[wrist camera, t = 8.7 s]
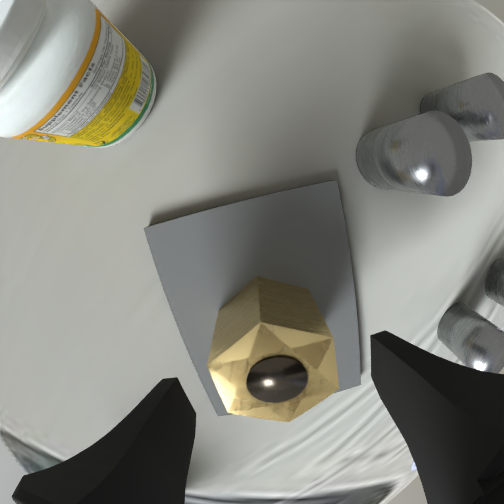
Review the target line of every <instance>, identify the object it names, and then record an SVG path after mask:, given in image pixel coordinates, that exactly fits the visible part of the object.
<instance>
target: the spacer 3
mask: <svg viewBox="0 0 504 504" xmlns="http://www.w3.org/2000/svg"><path fill="white" fill-rule="evenodd" d="M437 334H438V338H439V340H440V341H441V342H442V343H443V344H444V345H445V346H446V347H447V348H448V349H449V350H451V351H452V352H453V353H454V354H455V355H456V356H457V357H458V358H459V359H460V360H461V361H462V362H463V363H464V364H465V366H466V367H470V368H473V369H477V370H481V371H486V372H492V373H499V372H500V371H501V369H502V368H503V367H504V332H503V331H502V330H501V329H499V328H498V327H497V326H495V325H494V324H492V323H491V322H490V321H488V320H487V319H486V318H484V317H483V316H481V315H480V314H479V313H477V312H476V311H474V310H473V309H471V308H470V307H469V306H467V305H466V304H464V303H457V304H455V305H453V306H451V307H450V308H449V309H448V310H447V311H446V312H445V314H444V315H443V317H442V319H441V320H440V323H439V326H438V331H437Z"/></svg>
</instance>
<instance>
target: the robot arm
mask: <svg viewBox="0 0 504 504" xmlns="http://www.w3.org/2000/svg"><path fill="white" fill-rule="evenodd" d="M370 338H371V377H372V379H373V382H374V384H375V387H376V389H377V391H378V394H379V396H380V398H381V400H382V402H383V403H384V405H385V407H386V408H387V410H388V412H389V413H390V415H391V417H392V419H393V420H394V422H395V424H396V425H397V427H398V429H399V430H400V432H401V434H402V436H403V437H404V439H405V441H406V443H407V445H408V447H409V450H410V452H411V455H412V457H413V460H414V461H413V464H412V466H411V470H412V471H414V470H416V469H417V471H418V473H419V476H420V479H421V482H422V485H423V488H424V492H425V496H426V499H427V503H428V504H504V374H498V373H492V372H486V371H481V370H477V369H473V368H470V367H466V366H463V365H459V364H456V363H453V362H451V361H448V360H446V359H443V358H441V357H438V356H436V355H434V354H431V353H429V352H427V351H425V350H423V349H421V348H419V347H417V346H415V345H413V344H411V343H409V342H407V341H405V340H403V339H401V338H399V337H397V336H395V335H394V334H392V333H390V332H388V331H382V332H379V333H376V334H373V335H370ZM195 428H196V412H195V411H194V409H193V407H192V405H191V403H190V401H189V399H188V398H187V396H186V394H185V392H184V390H183V388H182V386H181V384H180V382H179V380H178V378H177V377H176V378H167V379H162V380H161V381H160V382H159V383H158V384H157V385H156V386H155V387H154V388H153V389H152V390H151V391H150V392H149V394H148V395H147V396H146V397H145V398H144V399H143V400H142V401H141V402H140V403H139V404H138V405H137V406H136V407H135V408H134V409H133V410H132V411H131V412H130V413H129V414H128V415H127V416H126V417H125V418H124V419H123V420H122V421H121V422H120V423H119V424H118V425H117V426H116V427H114V428H113V429H112V430H111V431H110V432H109V433H107V434H106V435H105V436H104V437H102V438H101V439H100V440H98V441H97V442H96V443H94V444H93V445H92V446H90V447H88V448H87V449H85V450H84V451H82V452H80V453H79V454H77V455H75V456H74V457H72V458H70V459H68V460H66V461H64V462H62V463H60V464H57V465H55V466H52V467H50V468H47V469H44V470H41V471H38V472H35V473H31V474H28V475H24V476H23V477H22V479H21V481H20V482H19V484H18V486H17V488H16V489H15V491H14V493H13V495H12V498H13V500H14V501H15V502H16V503H17V504H184V502H185V487H186V479H187V474H188V469H189V464H190V459H191V454H192V449H193V444H194V438H195Z"/></svg>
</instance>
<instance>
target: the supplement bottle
mask: <svg viewBox="0 0 504 504" xmlns="http://www.w3.org/2000/svg"><path fill="white" fill-rule="evenodd" d="M155 95H156V77H155V73H154V70H153V68H152V66H151V65H150V63H149V62H148V61H147V60H146V59H145V57H144V56H143V55H142V54H141V53H140V52H139V51H138V50H137V49H136V48H135V47H134V46H133V45H132V43H131V42H130V41H129V40H128V39H127V38H126V37H125V36H124V35H123V34H122V33H121V32H120V31H119V30H118V29H117V28H116V27H115V26H114V24H113V23H112V22H111V21H110V20H109V19H108V18H107V17H106V16H105V15H104V14H103V13H102V12H101V11H100V10H99V9H98V8H97V7H96V6H95V5H94V4H93V3H92V2H91V1H90V0H0V136H1V137H7V138H18V139H27V140H36V141H46V142H55V143H64V144H72V145H77V146H85V147H97V148H101V147H109V146H113V145H116V144H118V143H120V142H122V141H123V140H125V139H126V138H128V137H129V136H130V135H132V134H133V133H134V132H135V131H136V130H137V129H138V128H139V127H140V126H141V124H142V123H143V122H144V121H145V119H146V118H147V116H148V114H149V112H150V110H151V108H152V105H153V103H154V99H155Z"/></svg>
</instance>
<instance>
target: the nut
mask: <svg viewBox="0 0 504 504" xmlns="http://www.w3.org/2000/svg"><path fill="white" fill-rule="evenodd" d="M207 367H208V369H209V372H210V374H211V376H212V378H213V381H214V383H215V385H216V387H217V390H218V392H219V394H220V396H221V398H222V401H223V403H224V405H225V407H226V409H227V411H228V413H232V414H238V415H243V416H249V417H255V418H262V419H268V420H276V421H284V422H290V421H292V420H293V419H295V418H296V417H298V416H300V415H301V414H303V413H304V412H306V411H307V410H309V409H311V408H312V407H314V406H315V405H317V404H318V403H320V402H321V401H323V400H324V399H325V398H327V397H328V396H330V395H331V394H333V393H334V392H335V391H337V390H338V389H339V382H338V372H337V363H336V355H335V346H334V339H333V336H332V334H331V332H330V330H329V328H328V326H327V324H326V322H325V320H324V318H323V316H322V314H321V312H320V311H319V309H318V307H317V305H316V303H315V301H314V299H313V297H312V295H311V293H310V292H309V290H308V289H306V288H302V287H298V286H294V285H290V284H286V283H282V282H278V281H274V280H271V279H267V278H263V277H259V276H256V277H255V278H254V279H253V280H252V281H250V282H249V283H248V284H247V285H246V286H245V287H244V288H243V289H242V290H241V291H239V292H238V293H237V294H236V295H235V296H234V297H233V298H232V299H231V300H230V301H228V302H227V303H226V304H225V305H224V306H223V307H222V308H221V309H220V310H218V315H217V319H216V324H215V329H214V334H213V338H212V343H211V348H210V353H209V358H208V363H207Z"/></svg>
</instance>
